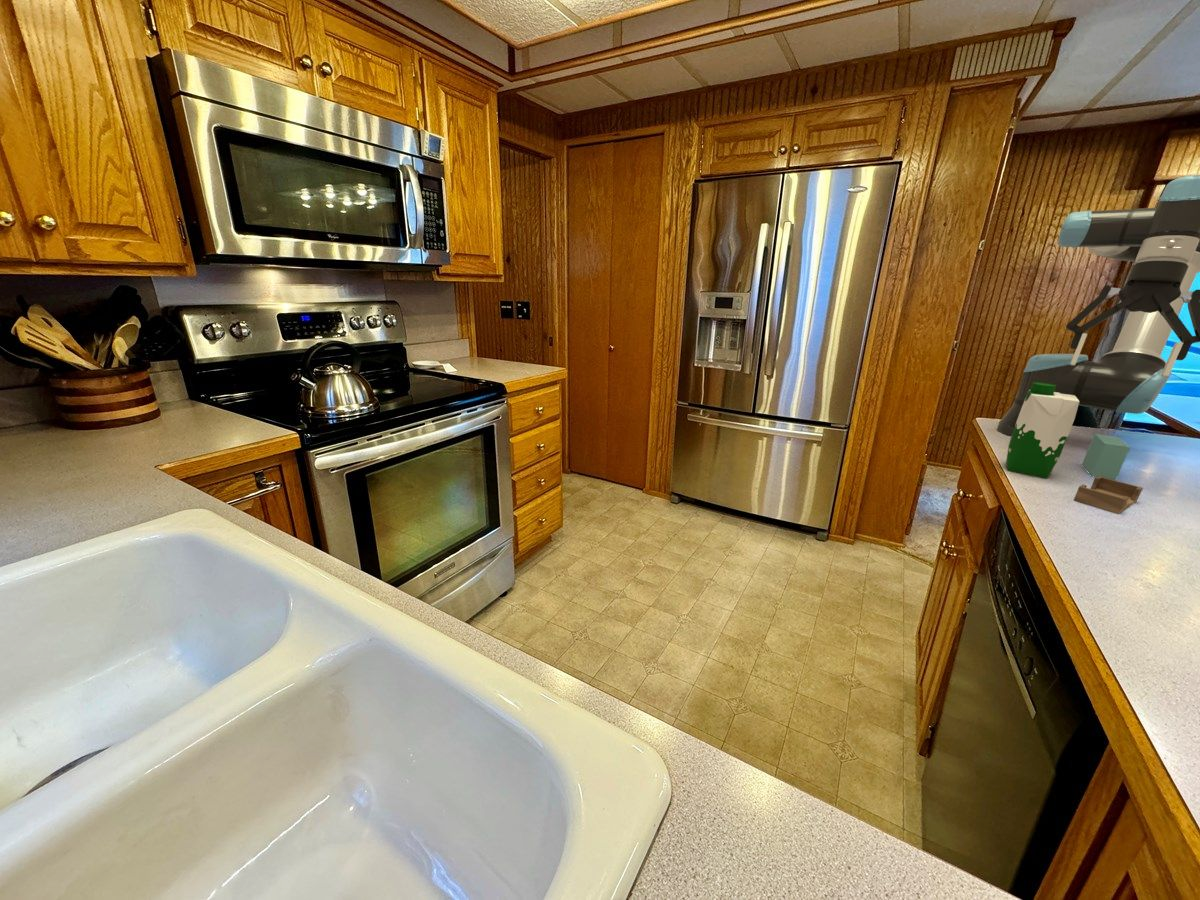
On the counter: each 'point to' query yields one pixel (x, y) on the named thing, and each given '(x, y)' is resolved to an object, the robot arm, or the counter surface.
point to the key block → (1105, 456)
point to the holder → (1108, 494)
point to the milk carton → (1041, 430)
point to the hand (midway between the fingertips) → (1116, 370)
